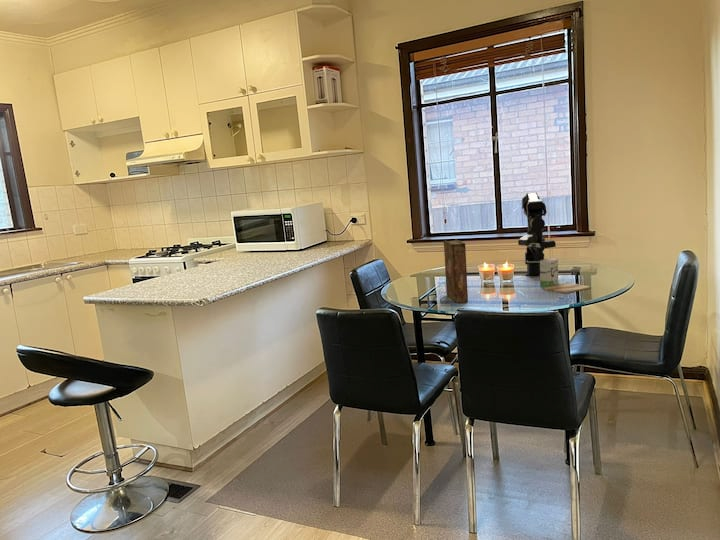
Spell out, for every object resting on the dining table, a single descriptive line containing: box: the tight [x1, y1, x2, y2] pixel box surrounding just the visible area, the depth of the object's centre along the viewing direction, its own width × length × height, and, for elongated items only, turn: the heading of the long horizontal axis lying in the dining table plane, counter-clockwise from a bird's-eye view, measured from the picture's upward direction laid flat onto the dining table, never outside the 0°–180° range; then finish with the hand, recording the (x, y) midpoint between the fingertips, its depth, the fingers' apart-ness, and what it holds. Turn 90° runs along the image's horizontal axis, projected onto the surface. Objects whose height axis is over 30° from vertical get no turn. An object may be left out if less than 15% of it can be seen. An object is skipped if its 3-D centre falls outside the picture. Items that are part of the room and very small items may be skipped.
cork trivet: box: [542, 282, 592, 295], centre depth 236 cm, size 13×15×1 cm
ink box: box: [539, 257, 559, 287], centre depth 245 cm, size 9×5×12 cm, turn 134°
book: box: [443, 239, 469, 304], centre depth 232 cm, size 16×6×25 cm, turn 5°
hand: (536, 261), depth 251 cm, fingers closed
